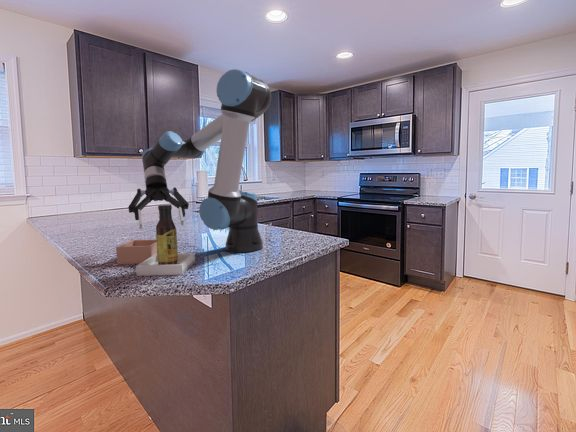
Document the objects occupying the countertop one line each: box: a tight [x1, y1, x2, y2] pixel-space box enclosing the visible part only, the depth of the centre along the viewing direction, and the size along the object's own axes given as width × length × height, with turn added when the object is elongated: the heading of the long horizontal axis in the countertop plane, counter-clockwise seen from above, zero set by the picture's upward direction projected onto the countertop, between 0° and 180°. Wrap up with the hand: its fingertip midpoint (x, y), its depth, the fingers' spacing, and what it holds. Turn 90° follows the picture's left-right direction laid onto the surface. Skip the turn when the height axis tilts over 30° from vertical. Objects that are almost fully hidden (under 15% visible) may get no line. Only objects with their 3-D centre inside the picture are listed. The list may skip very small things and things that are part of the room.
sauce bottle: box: [155, 204, 179, 265], centre depth 102 cm, size 6×6×20 cm
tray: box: [135, 253, 196, 277], centre depth 103 cm, size 14×14×3 cm
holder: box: [115, 238, 157, 265], centre depth 116 cm, size 12×12×6 cm
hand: (162, 224), depth 110 cm, fingers open, 13 cm apart
